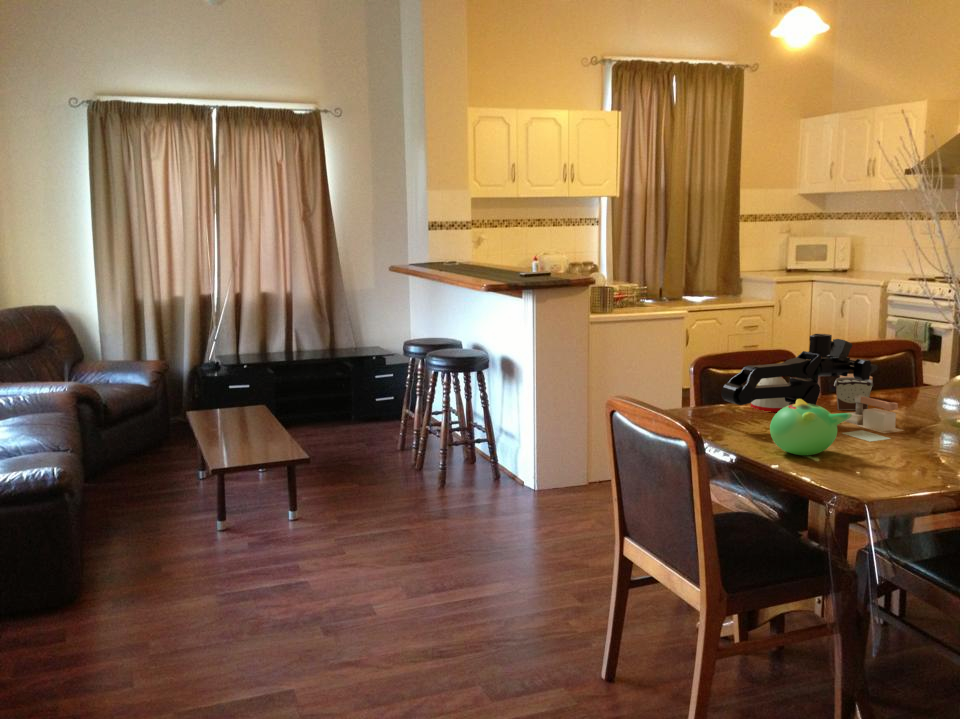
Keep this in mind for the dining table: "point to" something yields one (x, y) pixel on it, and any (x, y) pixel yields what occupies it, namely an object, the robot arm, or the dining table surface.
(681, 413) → the dining table surface
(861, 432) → the mat
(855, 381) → the food container
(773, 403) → the kitchen timer
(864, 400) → the latch bar
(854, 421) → the housing
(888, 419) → the block
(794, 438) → the toy bird
